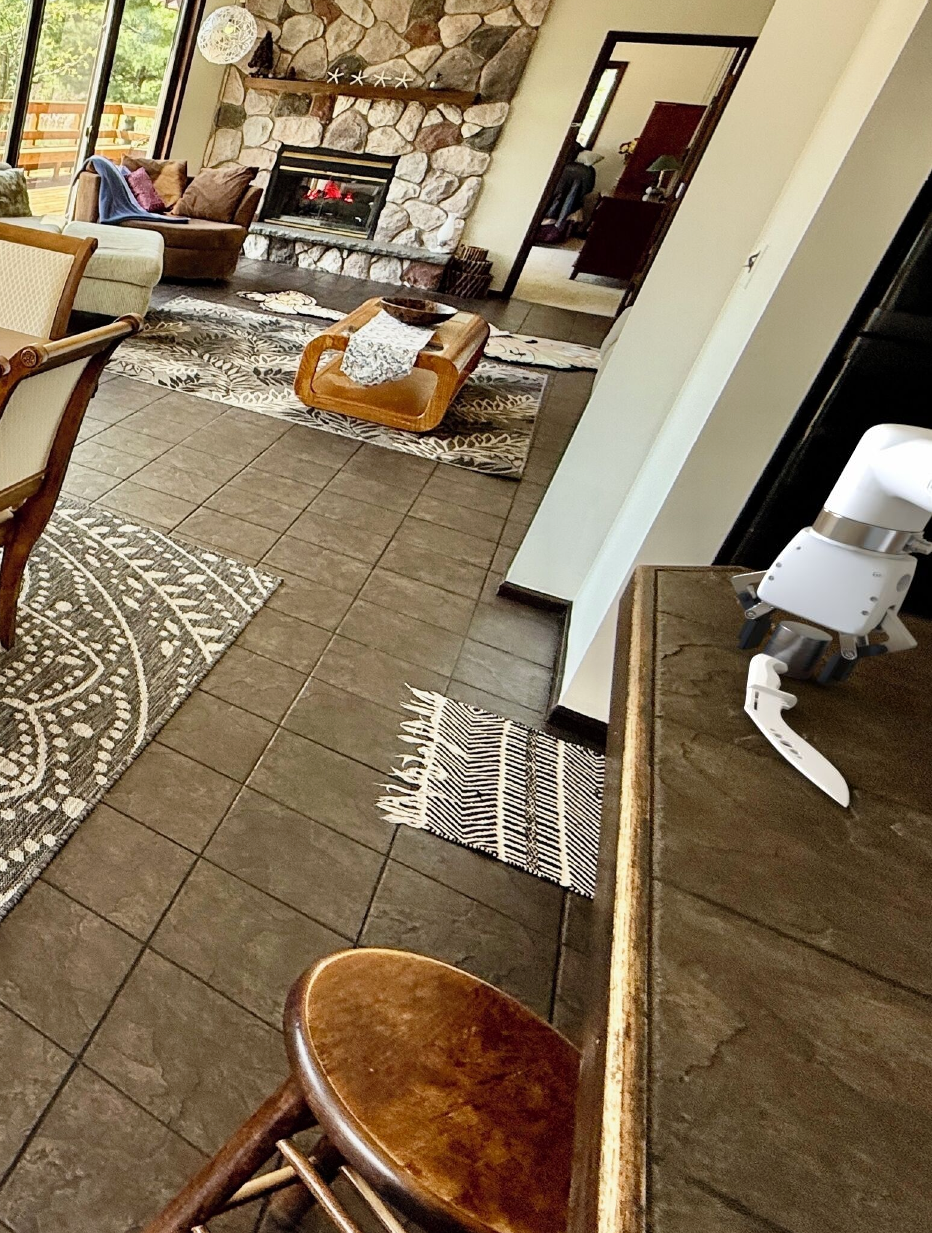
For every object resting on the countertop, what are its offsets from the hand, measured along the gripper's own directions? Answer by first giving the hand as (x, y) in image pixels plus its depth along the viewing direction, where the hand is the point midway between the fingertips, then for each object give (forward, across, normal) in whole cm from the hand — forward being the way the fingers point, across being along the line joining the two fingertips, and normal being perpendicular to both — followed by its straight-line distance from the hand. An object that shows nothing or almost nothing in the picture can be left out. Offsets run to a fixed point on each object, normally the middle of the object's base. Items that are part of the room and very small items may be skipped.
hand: (786, 663), depth 108 cm
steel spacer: (+1, 0, 0) cm, 1 cm away
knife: (+1, -8, +15) cm, 17 cm away
